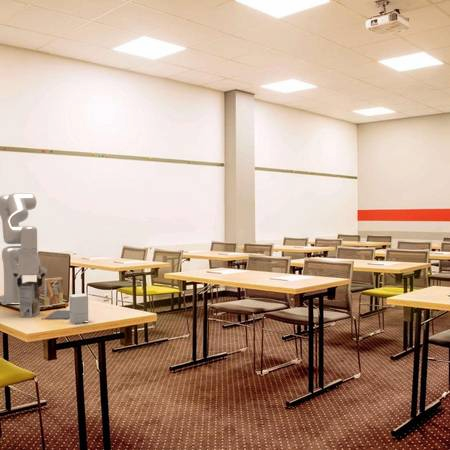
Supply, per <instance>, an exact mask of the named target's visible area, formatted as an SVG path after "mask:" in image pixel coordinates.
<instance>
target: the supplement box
mask: <svg viewBox="0 0 450 450" xmlns="http://www.w3.org/2000/svg"><path fill="white" fill-rule="evenodd" d="M68 297H69V310H70V318H69V322H70V321H71V322H72V323H77V324H79V323H78V322H85V321H88V322H89V296H88V295H87V294H86V293H76V294H69V295H68ZM71 322H70V323H71ZM72 323H71V324H72Z"/></svg>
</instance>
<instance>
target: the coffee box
mask: <svg viewBox="0 0 450 450" xmlns="http://www.w3.org/2000/svg"><path fill="white" fill-rule="evenodd" d="M38 314H40V287H38V281H25V282H23V283H22V284H20V304H19V317H20V318H33V317H35V316H37V315H38Z"/></svg>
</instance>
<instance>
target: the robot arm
mask: <svg viewBox="0 0 450 450" xmlns="http://www.w3.org/2000/svg"><path fill="white" fill-rule="evenodd" d="M36 206H37V199H36V196H35V195H34V194H32V193H25V192H24V193H23V192H21V193H20V192H19V193H17V192H16V193H11V194H3V195H0V219H1V224H2V237H3V238H2V239H3V242H4V243H5V244H7V245H10V246H6V247H4V248H2V251H1V258H2V266H3V267H2V268H3V294H2V295H0V301H1V302H0V304H1V305H4V306H7V305H6V304H11V303H20V284H22V283H24V282H23V276H37V278H38V279H37V282H38V287H39V288H40V287H42V285H43V278H44V277H45V276H46V274H47V272H48V271H49V270H48V268H46V267H44V266H42V265H41V259H40V254H38V229H37V227H36V226H33V225H20V223H23V222H24V221H25V220H27V219H28V217H29V211H31V210H33V209H36ZM41 272H42V273H41Z"/></svg>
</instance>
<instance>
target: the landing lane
mask: <svg viewBox="0 0 450 450" xmlns="http://www.w3.org/2000/svg"><path fill="white" fill-rule="evenodd" d="M41 320H70V309H69V310H60V309H59V310H53V311H51V312H50V313H47V315H46V316H43V317H42V318H41Z"/></svg>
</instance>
